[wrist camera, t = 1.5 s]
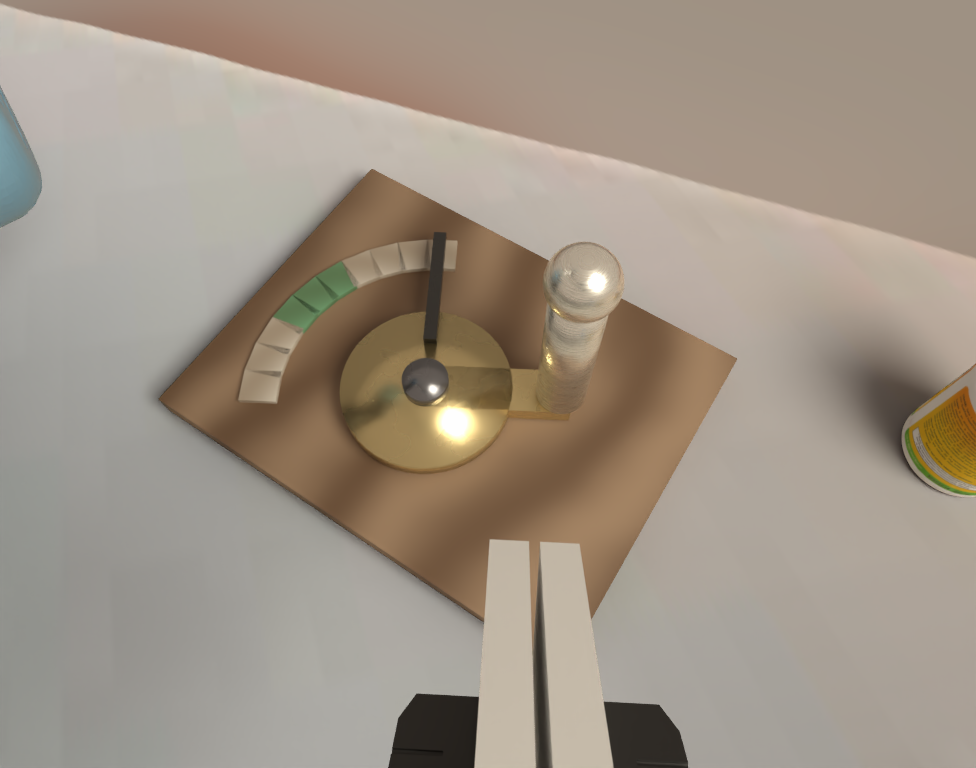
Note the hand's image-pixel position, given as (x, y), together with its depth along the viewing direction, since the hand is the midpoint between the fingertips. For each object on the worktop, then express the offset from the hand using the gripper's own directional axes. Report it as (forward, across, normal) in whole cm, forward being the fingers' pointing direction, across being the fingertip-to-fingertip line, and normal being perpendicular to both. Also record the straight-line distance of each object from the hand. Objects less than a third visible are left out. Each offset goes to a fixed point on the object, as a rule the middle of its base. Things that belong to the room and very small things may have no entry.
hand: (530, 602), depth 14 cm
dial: (+25, -3, -4) cm, 25 cm away
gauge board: (+26, -4, -5) cm, 27 cm away
